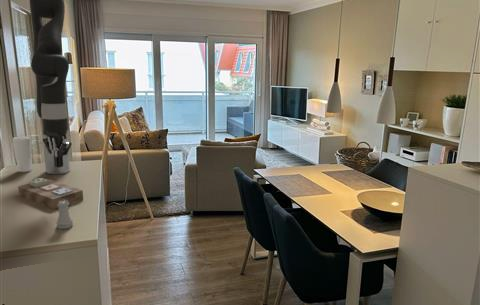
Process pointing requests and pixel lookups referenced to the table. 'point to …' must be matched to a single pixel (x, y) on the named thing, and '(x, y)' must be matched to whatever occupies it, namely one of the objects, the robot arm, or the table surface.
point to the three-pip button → (38, 182)
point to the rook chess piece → (64, 215)
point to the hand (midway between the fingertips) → (58, 166)
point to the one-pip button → (49, 187)
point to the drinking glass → (23, 153)
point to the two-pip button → (61, 191)
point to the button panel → (50, 194)
